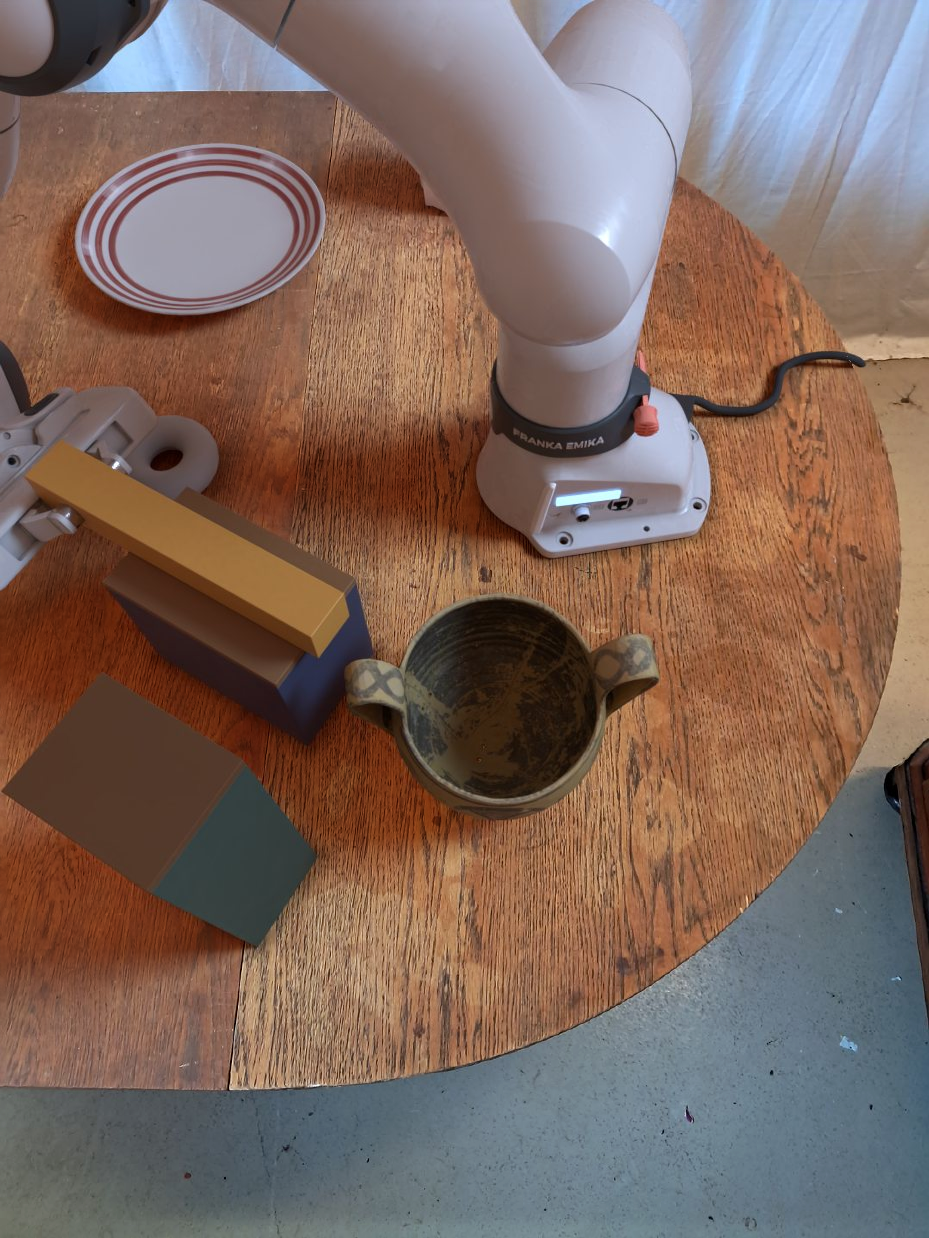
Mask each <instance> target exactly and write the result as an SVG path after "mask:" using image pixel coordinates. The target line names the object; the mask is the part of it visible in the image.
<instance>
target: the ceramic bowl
mask: <svg viewBox="0 0 929 1238" xmlns="http://www.w3.org/2000/svg"><path fill="white" fill-rule="evenodd" d="M658 668H659V667H658V664H657V660H656V653H655V648H654V645H653V641H652V639H651V637H650V636H648V635H646V634H643V633H629V634H626V635H622V636H619V637H616V638H614V639H612V640H610V641H607V642H605V643H603V644H601V645H600V646H599V647H596V648H595V649H594V650H592V649H591V647H590V645H589V644H588V643H587V641H586V639H585V638H584V637H583V635H582V634H581V632H580V631H579V630H578V629H577V628H576V627H575V626H574V624H573V623H572V622H571V621H570V620H568V619H567V618H566V617H565V616H564V615H562V613H560V612H558V611H557V610H555V609H554V608H552V607H551V606H549V605H547V604H546V603H544V602H542V601H540V600H537V599H535V598H532V597H528V596H525V595H520V594H515V593H504V592H493V593H486V594H478V595H472V596H470V597H467V598H463V599H459V600H457V601H455V602H453V603H450V604H449V605H447V606H445V607H443V608H441V609H440V610H438V611H437V612H435V613H434V614H432V615H431V616H430V617H429V618H428V619H427V620H426V621H425V622H424V623H423V624H422V625H421V626H420V627H419V628H418V629H417V631H416V632H415V633H414V635H413V636H412V638H411V639H410V641H409V643H408V645H407V646H406V649H405V651H404V653H403V656H402V658H401V659H400V663H399V664H398V666H396V665H395V664H392V663H390V662H388V661H384V660H379V659H375V658H371V659H360V660H356V661H353V662H352V663H350V664H349V665H348V666H346V667H345V671H344V678H345V686H346V694H345V695H346V696H345V698H346V708H347V710H348V712H349V713H350V714H351V715H352V716H355V717H357V718H358V719H360V720H362V721H364V722H366V723H368V724H371V725H373V726H374V727H376V728H377V729H378V728H379V729H380V730H381V731H383V732H385V733H386V734H388V735H389V736H390V737H392V738H393V739H394V742H395V746H396V748H397V750H398V751H397V752H398V754H399V756H400V758H401V760H402V762H403V764H404V765H405V767H406V768H407V770H408V772H409V773H410V774H411V776H412V777H413V779H414V780H415V781H416V782H417V783H418V784H419V786H421V788H422V789H423V790H425V791H426V792H427V793H428V794H429V795H430V796H431V797H433V799H435V800H436V801H438V802H439V803H441V804H442V805H444V806H446V807H447V808H449V809H451V810H453V811H455V812H457V813H459V814H461V815H464V816H467V817H470V818H473V819H475V820H483V821H484V820H486V821H493V822H496V821H500V822H501V821H511V820H513V821H514V820H519V819H523V818H527V817H530V816H533V815H535V814H538V813H541V812H544V811H545V810H547V809H549V808H551V807H552V806H554V805H556V804H558V803H559V802H560V801H562V800H563V799H564V798H565V797H567V796H568V795H569V794H571V793H572V792H573V791H574V790H575V789H576V788H577V787H578V785H579V784H581V782H582V781H583V780H584V779H585V778H586V777H587V775H588V774H589V772H590V771H591V769H592V767H593V766H594V763H595V762H596V760H597V757H598V755H599V752H600V750H601V747H602V745H603V741H604V735H605V730H606V721H607V719H608V718H609V717H610V716H612V714H614V713H615V712H616V711H618V710H619V709H621V708H622V707H623V706H625V705H627V704H628V703H630V702H631V701H633V700H634V699H636V698H637V697H639V696H641V695H643V694H644V693H646V692H648V691H650V690H651V689H652V688H654V687H656V686H657V685H658V683H659V682H660V680H661V678H660V673H659V672H660V671H659V669H658ZM483 746H484V747H483Z"/></svg>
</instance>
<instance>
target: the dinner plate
mask: <svg viewBox="0 0 929 1238" xmlns="http://www.w3.org/2000/svg"><path fill="white" fill-rule="evenodd" d="M325 207H326V206H325V203H324V200H323V197H322V194H321V192H320V190H319V188H318V186H317V185H316V183H315V182H314V181H313V179H312V178H311V177H310V176H309V175H308V173H306V172H305V171H304V170H303V169H302V168H301V167H299V166H298V165H297V164H295V163H294V162H292V161H290V160H289V159H287V158H285V157H283V156H281V155H279V154H276V153H274V152H273V151H269V150H266V149H262V148H260V147H255V146H250V145H244V144H238V143H237V144H236V143H218V142H217V143H215V142H214V143H199V144H192V145H191V144H190V145H184V146H180V147H174V148H171V149H168V150H163V151H160V152H157V153H154V154H151V155H149V156H147V157H144V158H142V159H139V160H137V161H135V162H133V163H132V164H129V165H128V166H126V167H124V168H122V169H121V170H120V171H118V172H116V173H115V174H113V176H111V177H110V178H109V179H108V180H106V181H105V182H104V183H103V184H102V185H101V186H100V187H99V188H98V189H97V190H96V191H95V192H94V193H93V194H92V196H91V197H90V198H89V200H88V201H87V203H86V204H85V206H84V208H83V209H82V211H81V213H80V215H79V218H78V220H77V222H76V227H75V231H74V232H75V233H74V247H75V252H76V257H77V261H78V263H79V265H80V267H81V269H82V271H83V272H84V275H86V277H87V279H89V280H90V282H91V283H92V284H93V285H94V286H95V287H97V289H98V290H100V291H101V292H102V293H103V294H105V295H107V296H109V297H110V298H111V299H114V300H115V301H117V302H119V303H122V304H124V305H126V306H128V307H132V308H135V309H138V310H141V311H145V312H149V313H153V314H161V315H170V316H200V315H206V314H207V315H208V314H214V313H219V312H223V311H228V310H231V309H236V308H239V307H241V306H244V305H247V304H250V303H252V302H255V301H257V300H259V299H261V298H263V297H265V296H267V295H269V294H271V293H272V292H274V291H276V290H277V289H279V288H281V286H283V285H285V284H286V283H287V282H289V281H290V280H291V279H293V277H295V276H296V275H297V274H298V273H299V272H300V271H302V269H303V268H304V267H305V265H306V264H308V262H309V261H310V259H311V258H313V255H314V254H315V252H316V251H317V249H318V247H319V245H320V243H321V241H322V238H323V236H324V230H325V227H326V208H325Z"/></svg>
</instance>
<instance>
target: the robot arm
mask: <svg viewBox="0 0 929 1238" xmlns="http://www.w3.org/2000/svg"><path fill="white" fill-rule="evenodd" d="M202 1H203V2H206V3H208V4H210V5H211V6H214V7H215V8H217V9H219V10H220V11H222V12H223V13H225V14H226V15H227V16H229V17H231V18H233V20H235V21H236V22H238V23H239V25H241V26H243V27H244V28H246V29H247V30H248V31H250V32H251V33H252V34H254V35H255V37H257V38H259V39H260V40H261V41H263V42H264V43H265V44H267V45H268V46H269V47H270V48H272V49H275V51H276V52H277V53H278V54H280V55H281V56H282V57H284V58H285V59H286V60H288V61H289V62H290V63H292V64H293V65H295V66H296V67H297V68H298V69H300V71H302V72H303V73H305V74H306V75H307V76H309V77H310V78H312V79H313V80H314V81H315V82H317V83H318V84H320V85H321V86H322V87H324V89H326V90H327V91H329V92H330V93H331V94H332V95H334V96H335V97H336V98H337V99H338V100H340V101H341V102H343V104H345V105H346V106H347V107H349V108H350V109H351V110H352V111H354V112H355V113H356V114H357V115H358V116H360V117H361V118H363V120H365V121H366V122H368V123H369V124H370V125H371V126H372V127H373V128H375V129H376V130H377V131H378V133H380V134H382V135H383V136H384V137H385V138H386V139H387V140H388V141H389V142H390V143H391V145H393V146H394V147H395V148H396V150H398V152H400V154H401V155H402V156H403V157H404V158H405V160H406V161H407V162H408V163H409V165H410V166H412V168H413V169H414V170H415V172H416V173H417V175H419V178H420V177H421V178H422V179H423V181H424V182H425V183H426V185H427V186H428V187H429V189H430V190H431V191H432V193H433V194H434V196H435V197H436V198H437V200H438V201H439V203H440V204H441V206H442V207H443V209H444V210H445V211H444V212H445V214H446V213H447V214H446V215H447V217H448V218H449V220H450V221H451V223H452V225H453V226H454V228H455V230H456V232H457V234H458V235H459V238H460V239H461V242H462V243H463V246H464V248H465V251H466V252H467V255H468V258H469V261H470V264H471V268H472V271H473V275H474V280H475V283H476V287H477V291H478V294H479V295H480V298H481V300H482V302H483V304H484V305H485V307H486V308H487V310H488V311H489V312H490V314H491V315H492V316H493V317H494V318H495V319H496V320H497V340H496V341H497V343H496V344H497V345H496V346H497V347H496V356H495V358H494V361H493V364H492V367H491V375H490V378H489V386H488V418H489V421H490V428H489V431H488V434H487V438H486V441H485V443H484V444H483V446H482V448H481V450H480V452H479V455H478V458H477V461H476V466H475V480H476V485H477V489H478V492H479V493H480V496H481V498H482V500H483V502H484V503H485V505H486V507H487V508H488V509H489V510H490V512H491V513H492V514H494V516H496V517H497V518H498V519H499V520H501V522H503V523H504V524H506V525H507V526H509V527H511V528H513V529H514V530H516V531H518V532H519V533H521V534H522V535H524V536H525V538H527V540H528V541H529V542H530V544H531V545H532V546H533V548H535V550H536V551H537V552H538V553H539V554H541V556H543V557H546V558H547V559H558V558H563V557H570V556H577V555H583V554H590V553H595V552H601V551H608V550H615V549H621V548H626V547H634V546H641V545H647V544H652V543H659V542H665V541H671V540H678V539H685V538H690V537H693V536H695V535H696V534H698V532H699V531H700V529H701V528H702V526H703V524H704V522H705V520H706V517H707V514H708V510H709V506H710V501H711V489H712V488H711V471H710V463H709V458H708V454H707V450H706V447H705V445H704V442H703V440H702V437H701V435H700V433H699V432H698V430H697V428H696V427H695V425H694V424H693V423H692V422H691V419H692V417H693V414H694V407H695V405H696V406H698V407H700V408H702V409H704V411H707V412H709V413H712V414H715V415H724V416H750V415H755V414H758V413H762V412H764V411H766V410H767V411H768V410H769V409H770V408H771V407H773V406H774V405H775V404H776V403H777V402H778V401H779V398H780V397H781V394H782V390H783V383H784V378H785V375H786V373H787V372H788V370H790V369H792V368H793V367H796V366H798V365H800V364H804V363H808V362H813V361H814V362H815V361H820V360H821V361H822V360H830V361H831V360H834V361H841V362H846V363H849V364H852V365H854V366H855V367H857V368H865V367H866V366H867V363H866V360H864V359H863V358H862V357H861V356H858V355H856V354H853V353H851V352H845V351H838V350H820V351H812V352H807V353H803V354H799V355H797V356H796V355H795V356H794V357H791V358H789V359H787V360H785V361H784V362H782V363H781V364H780V366H779V367H778V368H777V370H776V373H775V375H774V379H773V387H772V392H771V394H770V396H768V398H767V399H765V400H764V401H762V402H759V403H757V404H753V405H747V406H730V405H720V404H716V403H713V402H712V401H709V400H708V399H706V398H704V397H701V396H699V395H694V394H680V393H673V392H665V391H663V390H661V389H659V388H656V387H654V386H652V384H651V379H650V376H649V375H648V373H647V372H646V371H647V370H646V362H645V358H644V355H643V353H642V350H641V349H639V350H638V346H639V342H640V338H641V334H642V329H643V324H644V320H645V315H646V313H647V307H648V303H649V299H650V294H651V289H652V285H653V280H654V277H655V272H656V268H657V265H658V259H659V255H660V251H661V247H662V244H663V243H662V242H663V239H664V234H665V229H666V225H667V221H668V218H669V214H670V213H669V212H670V208H671V204H672V200H673V197H674V191H675V187H676V183H677V178H678V175H679V171H680V166H681V162H682V158H683V153H684V150H685V149H684V148H685V144H686V140H687V137H688V132H689V128H690V123H691V118H692V111H693V110H692V109H693V83H692V82H693V81H692V71H691V63H690V54H689V53H690V52H689V48H688V44H687V41H686V38H685V35H684V33H683V32H682V29H681V27H680V26H679V24H678V23H677V22H676V21H675V19H674V18H673V17H672V16H671V14H670V13H669V12H668V11H666V10H665V9H664V8H663V7H661V6H660V5H658V4H657V3H655V2H654V1H652V0H592V1H589V2H588V3H586V4H585V5H583V6H581V8H579V9H578V10H577V11H576V12H575V13H573V14H572V16H571V17H569V19H568V20H567V21H566V22H565V24H564V25H563V26H562V27H561V29H559V30H558V32H557V33H556V34H555V36H554V37H553V38H552V40H551V41H550V42H549V44H548V45H547V47H546V48H545V50H544V51H543V52H542V53H541V51H540V50H539V48H538V47H537V45H536V44H535V43H534V41H533V40H532V38H531V37H530V35H529V33H528V32H527V30H526V29H525V27H524V25H523V23H522V21H521V20H520V19H519V17H518V14H517V13H516V10H515V8H514V7H513V4H512V2H511V0H202ZM169 2H170V0H0V202H1V201H2V200H3V199H4V198H5V196H6V195H7V193H8V191H9V189H10V187H11V184H12V182H13V179H14V177H15V174H16V170H17V166H18V162H19V157H20V149H21V127H22V125H21V122H22V119H21V117H22V116H21V114H22V97H28V98H29V97H30V98H31V97H32V98H33V97H44V96H50V95H51V96H52V95H55V94H59V93H61V92H65V91H67V90H70V89H72V88H74V87H77V86H79V85H81V84H83V83H85V82H87V81H89V80H90V79H92V78H94V77H95V76H96V75H97V74H99V73H100V72H101V71H102V70H103V69H104V68H105V67H106V66H107V65H108V64H109V62H111V60H112V59H113V58H114V57H115V55H116V54H118V53H119V52H120V51H122V50H123V49H124V48H125V47H126V46H127V45H129V44H131V43H133V42H135V41H137V40H138V39H139V38H140V37H142V36H143V35H144V34H145V33H146V32H147V31H148V30H149V29H150V28H151V26H152V25H153V24H154V23H155V22H156V20H157V19H158V18H159V16H160V15H161V13H162V12H163V10H164V9H165V7H166V5H167V3H169ZM637 350H638V354H637ZM636 355H638V356H637V358H636ZM847 356H848V357H847ZM635 359H636V363H635ZM849 360H850V361H851V362H850V361H849ZM31 402H32V401H31V396H30V391H29V389H28V385H27V381H26V379H25V376H24V374H23V371H22V369H21V367H20V365H19V363H18V361H17V359H16V357H15V355H14V353H13V352H12V351H11V350H10V348H9V347H8V346H7V345H6V343H5V342H4V341H2V339H0V592H1V591H3V590H5V588H6V587H7V586H8V585H9V584H10V583H11V582H12V581H13V580H14V579H15V578H16V577H17V575H18V574H20V572H21V571H22V570H23V569H24V568H25V567H26V566H27V565H28V564H29V562H31V560H32V559H34V557H35V556H36V555H37V554H38V553H39V552H40V551H41V550H42V549H43V548H44V547H45V546H46V544H48V543H49V542H50V541H51V540H53V539H55V538H57V537H60V536H62V535H64V534H67V535H72V536H73V535H74V534H75V533H76V532H77V531H78V530H79V529H80V527H81V526H82V524H83V523H84V521H85V519H84V518H83V517H82V516H81V515H79V514H78V512H77V511H76V510H75V509H74V508H72V507H71V506H69V505H67V504H62V503H59V504H58V505H57V506H56V507H55V508H52V507H50V506H49V505H47V504H45V503H43V501H42V500H41V498H40V497H39V496H38V494H37V493H36V492H35V490H34V489H33V488H32V486H31V485H30V484H29V482H28V481H27V480H26V478H25V477H24V476H25V475H26V474H27V473H28V472H29V471H30V470H31V469H32V468H33V467H34V466H35V465H36V464H37V463H38V462H39V461H40V460H41V459H42V458H43V457H44V456H45V455H46V454H47V453H48V452H49V451H50V450H51V448H52V447H53V446H54V445H55V444H56V443H57V442H58V441H59V440H62V441H64V442H66V443H68V444H70V445H72V446H74V447H75V448H77V449H79V450H81V451H83V452H85V453H86V454H88V455H90V456H92V457H94V458H96V459H97V460H99V461H101V462H103V463H105V464H107V465H109V466H110V467H112V468H114V469H116V470H118V471H120V472H121V473H123V474H125V475H127V476H128V474H129V473H130V472H131V471H132V468H131V467H130V466H129V465H128V463H127V462H126V461H125V459H126V458H127V457H128V456H129V455H130V454H131V453H132V452H133V451H134V450H135V449H136V447H137V446H138V445H139V444H140V443H141V442H142V441H143V440H144V439H145V438H146V437H147V436H148V435H149V434H150V433H151V432H152V431H153V430H154V429H155V427H156V426H157V417H158V415H157V414H156V412H155V410H154V409H153V408H152V406H150V404H149V403H148V402H147V400H146V399H144V397H143V396H142V395H141V394H140V393H139V392H138V391H136V390H135V389H134V388H132V387H130V386H126V385H99V386H97V385H96V386H91V387H87V388H85V389H81V390H79V391H78V392H76V391H75V390H74V389H73V388H71V387H70V386H65V385H64V386H60V387H57V388H56V389H54V390H53V391H52V392H51V393H48V394H47V395H46V396H44V397H43V398H41V399H40V400H39V401H38V402H36V403H35V404H33V405H32V403H31ZM694 507H697V508H699V509H696V508H694ZM563 541H564V542H566V543H565V544H563V543H561V542H563Z"/></svg>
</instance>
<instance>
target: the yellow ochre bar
mask: <svg viewBox="0 0 929 1238" xmlns="http://www.w3.org/2000/svg"><path fill="white" fill-rule="evenodd" d="M24 477H25V478H26V480H27V481H28V482H29V484H30V485H31V486H32V488H33V489H34V490H35V492H36V493H37V494H38V496H39V497H40V498H41V500H42V501H43V503H45V504H47V505H49V506H50V507H52V508H55V507H56V506H57V505H58V504H59V503H62V504H67V505H69V506H71V507H72V508H74V509H75V510H76V511H77V512H78V514H79V515H81V516H82V517H83V518H84V519H85V521H84V523H83V524H82V525H83V526H84V527H85V528H87V529H89V530H90V531H93V532H94V533H96V534H98V535H99V536H101V537H103V538H105V539H106V540H109V541H111V542H112V543H114V544H116V545H117V546H120V547H121V548H122V549H125V550H126V551H128V552H129V551H130V552H131V553H133V554H135V555H137V556H138V557H140V558H142V559H144V560H146V561H147V562H149V563H151V564H153V565H154V566H156V567H158V568H160V569H161V570H163V571H165V572H167V573H168V574H170V575H172V576H174V577H175V578H177V579H179V580H181V581H183V582H184V583H186V584H188V585H190V586H191V587H193V588H195V589H197V590H198V591H200V592H202V593H204V594H205V595H207V596H209V597H211V598H212V599H214V600H216V601H218V602H220V603H221V604H223V605H225V606H227V607H228V608H230V609H232V610H234V611H235V612H237V613H239V614H241V615H242V616H244V617H246V618H248V619H249V620H251V621H253V622H255V623H257V624H258V625H260V626H262V627H264V628H265V629H267V630H269V631H271V632H272V633H274V634H276V635H278V636H279V637H281V638H283V639H285V640H286V641H288V642H290V643H292V644H294V645H295V646H297V647H299V648H301V649H302V650H304V651H306V652H308V653H309V654H311V655H313V656H315V657H316V658H319V657H320V656H321V654H322V653H323V651H324V650H325V649H326V647H327V646H328V645H329V643H330V642H331V641H332V639H333V638H334V636H335V635H336V634H337V632H338V631H339V630H340V628H341V627H342V626H343V624H344V623H345V621H346V620H347V619H348V617H349V612H348V608H347V604H346V600H345V596H344V593H343V592H341V591H339V590H337V589H335V588H333V587H332V586H330V585H328V584H326V583H324V582H322V581H320V580H319V579H317V578H315V577H313V576H311V575H309V574H308V573H306V572H304V571H302V570H300V569H298V568H297V567H295V566H293V565H291V564H289V563H287V562H285V561H284V560H282V559H280V558H278V557H276V556H274V555H273V554H271V553H269V552H267V551H265V550H263V549H262V548H260V547H258V546H256V545H254V544H252V543H250V542H249V541H247V540H245V539H243V538H241V537H239V536H238V535H236V534H234V533H232V532H230V531H228V530H226V529H225V528H223V527H221V526H219V525H217V524H215V523H214V522H212V521H210V520H208V519H206V518H204V517H203V516H201V515H199V514H197V513H195V512H193V511H191V510H190V509H188V508H186V507H184V506H182V505H180V504H179V503H177V502H175V501H173V500H171V499H169V498H168V497H166V496H164V495H162V494H160V493H158V492H156V491H155V490H153V489H151V488H149V487H147V486H145V485H144V484H142V483H140V482H138V481H136V480H134V479H132V478H131V477H129V476H127V475H125V474H123V473H121V472H120V471H118V470H116V469H114V468H112V467H110V466H109V465H107V464H105V463H103V462H101V461H99V460H97V459H96V458H94V457H92V456H90V455H88V454H86V453H85V452H83V451H81V450H79V449H77V448H75V447H74V446H72V445H70V444H68V443H66V442H64V441H62V440H59V441H58V442H57V443H56V444H55V445H54V446H53V447H52V448H51V450H50V451H49V452H48V453H47V454H46V455H45V456H44V457H43V458H42V459H41V460H40V461H39V462H38V463H37V464H36V465H35V466H34V467H33V468H32V469H31V470H30V471H29V472H28V473H27V474H26V475H25V476H24ZM82 525H81V526H82Z"/></svg>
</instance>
